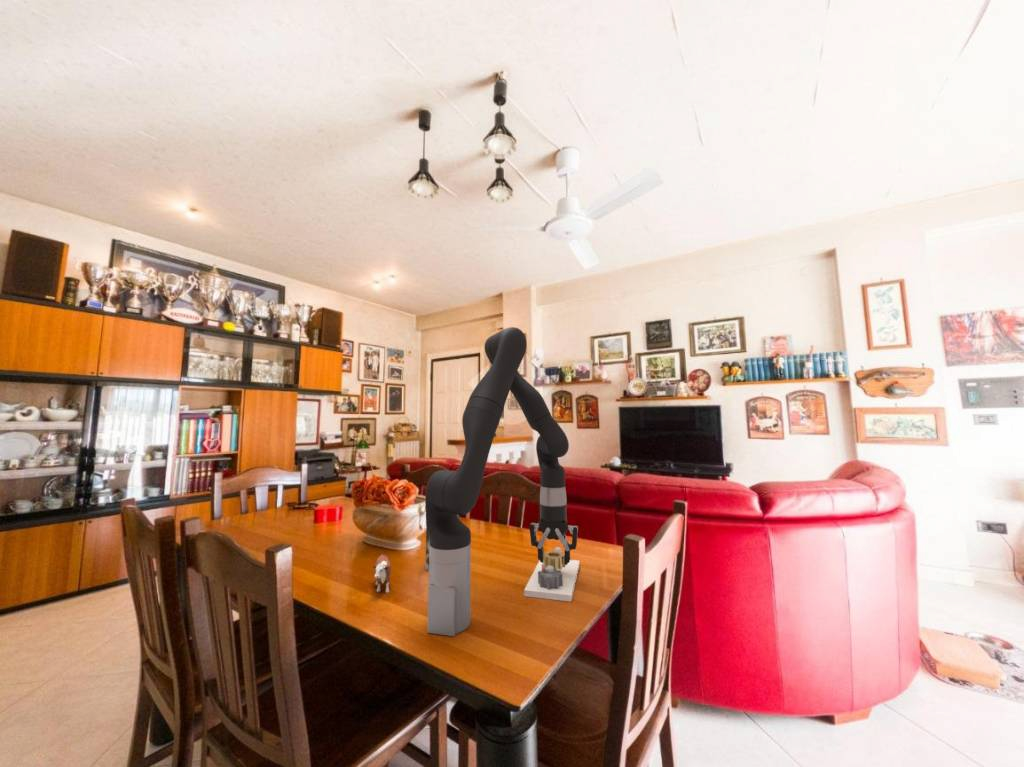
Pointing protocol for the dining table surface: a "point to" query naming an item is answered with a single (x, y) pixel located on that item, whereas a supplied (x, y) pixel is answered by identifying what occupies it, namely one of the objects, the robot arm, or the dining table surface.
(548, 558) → the brass gear
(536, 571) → the gear board
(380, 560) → the bull figurine
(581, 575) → the dining table surface
